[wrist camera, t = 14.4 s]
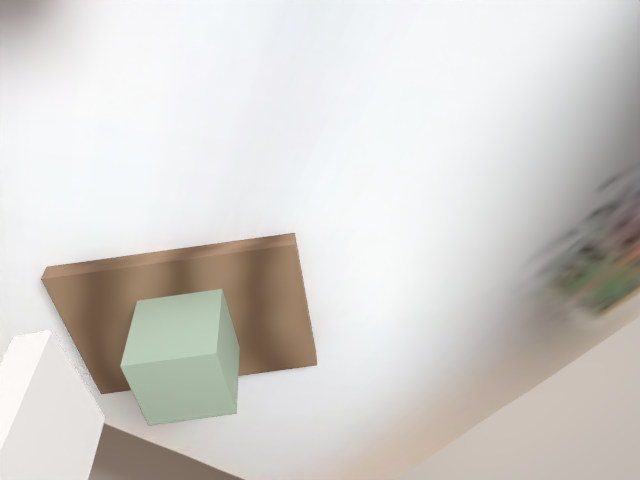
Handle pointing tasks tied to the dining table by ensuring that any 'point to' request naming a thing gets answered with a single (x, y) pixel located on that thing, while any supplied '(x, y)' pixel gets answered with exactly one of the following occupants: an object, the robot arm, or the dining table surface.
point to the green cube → (182, 357)
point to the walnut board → (183, 278)
